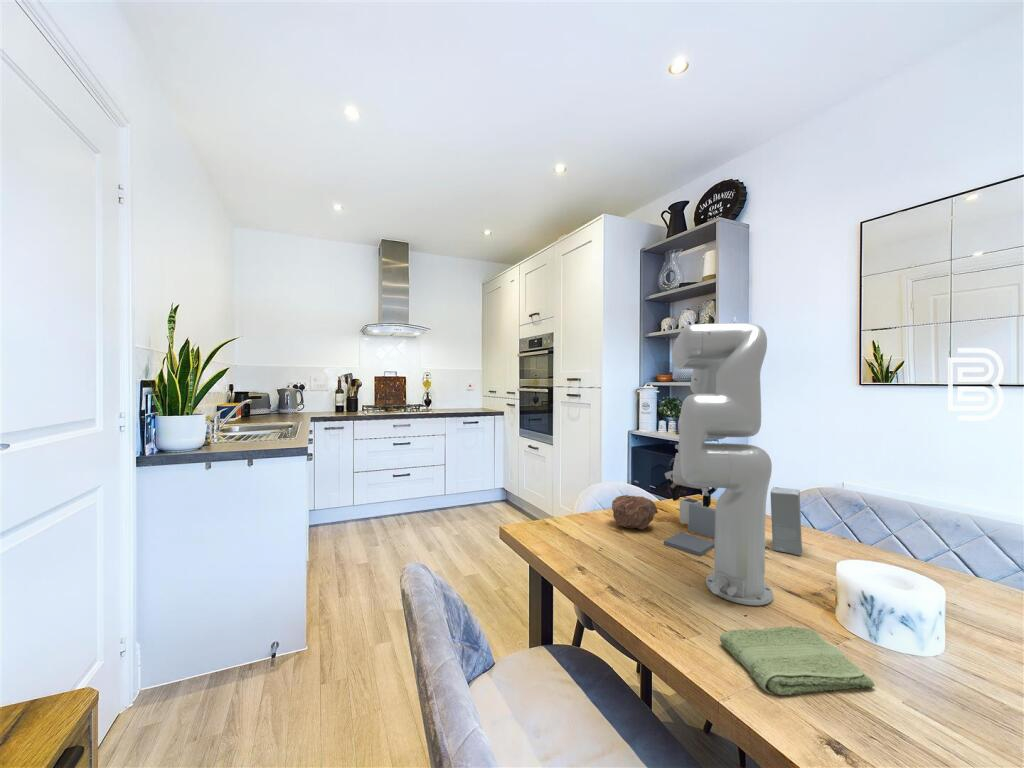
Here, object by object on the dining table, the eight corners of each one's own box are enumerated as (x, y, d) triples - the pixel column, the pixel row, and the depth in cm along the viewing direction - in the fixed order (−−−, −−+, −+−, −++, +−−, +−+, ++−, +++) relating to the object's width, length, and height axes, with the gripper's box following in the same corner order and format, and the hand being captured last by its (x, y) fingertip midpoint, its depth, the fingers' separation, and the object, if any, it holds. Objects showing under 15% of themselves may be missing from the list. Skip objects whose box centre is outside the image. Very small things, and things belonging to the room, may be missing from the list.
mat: (700, 556, 105) (700, 552, 105) (663, 544, 113) (663, 540, 113) (716, 545, 112) (716, 542, 112) (680, 535, 119) (680, 531, 119)
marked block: (695, 526, 127) (695, 503, 126) (679, 522, 130) (679, 499, 130) (702, 523, 130) (702, 500, 130) (686, 518, 134) (687, 496, 134)
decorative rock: (662, 528, 125) (662, 495, 125) (643, 537, 117) (644, 503, 117) (624, 517, 135) (624, 487, 135) (604, 525, 127) (605, 493, 127)
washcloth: (880, 694, 60) (881, 672, 60) (767, 702, 58) (768, 680, 58) (808, 637, 73) (808, 619, 73) (714, 642, 71) (714, 624, 71)
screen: (734, 544, 113) (735, 515, 113) (688, 531, 123) (688, 504, 122) (737, 542, 114) (738, 514, 114) (691, 529, 124) (691, 503, 124)
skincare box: (801, 557, 105) (802, 495, 105) (768, 549, 109) (769, 491, 109) (802, 546, 112) (803, 488, 112) (771, 540, 116) (772, 484, 116)
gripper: (660, 448, 134) (659, 499, 134) (714, 456, 121) (713, 513, 122) (671, 445, 139) (670, 495, 139) (724, 453, 126) (723, 507, 127)
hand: (690, 503), depth 131 cm, fingers open, 9 cm apart
